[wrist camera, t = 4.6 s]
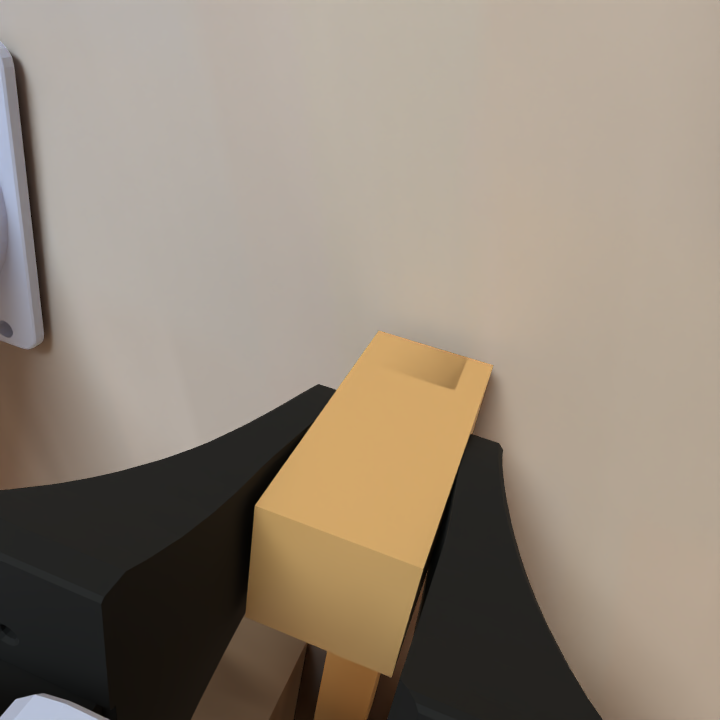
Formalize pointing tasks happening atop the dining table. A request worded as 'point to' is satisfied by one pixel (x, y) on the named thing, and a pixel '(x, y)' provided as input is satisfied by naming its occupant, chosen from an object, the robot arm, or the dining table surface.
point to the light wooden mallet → (363, 513)
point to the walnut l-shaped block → (255, 676)
